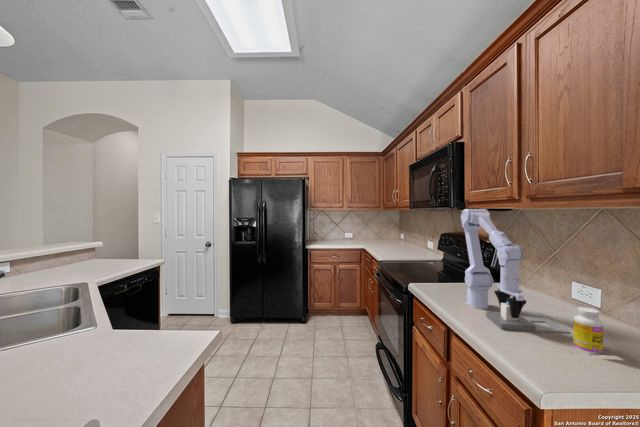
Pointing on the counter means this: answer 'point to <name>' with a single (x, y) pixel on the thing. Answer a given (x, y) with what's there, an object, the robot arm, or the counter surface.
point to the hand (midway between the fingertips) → (509, 313)
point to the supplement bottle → (588, 331)
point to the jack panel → (525, 324)
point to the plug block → (506, 312)
